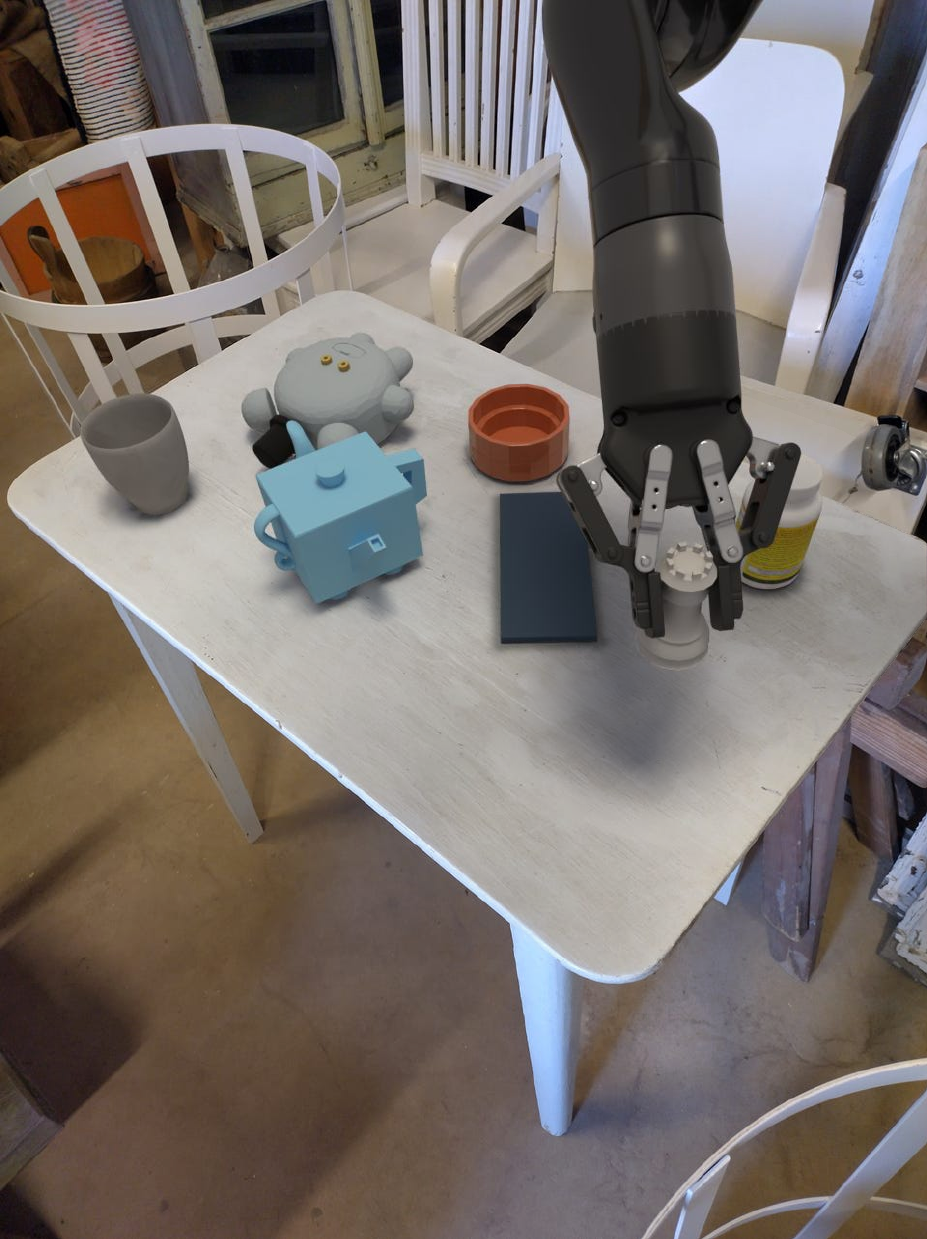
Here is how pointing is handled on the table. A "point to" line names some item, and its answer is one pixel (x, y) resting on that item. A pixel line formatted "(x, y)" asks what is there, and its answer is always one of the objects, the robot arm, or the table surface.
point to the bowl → (519, 432)
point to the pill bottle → (786, 531)
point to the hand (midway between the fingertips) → (689, 631)
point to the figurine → (331, 396)
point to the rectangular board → (544, 571)
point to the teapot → (342, 512)
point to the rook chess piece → (681, 609)
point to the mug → (140, 451)
